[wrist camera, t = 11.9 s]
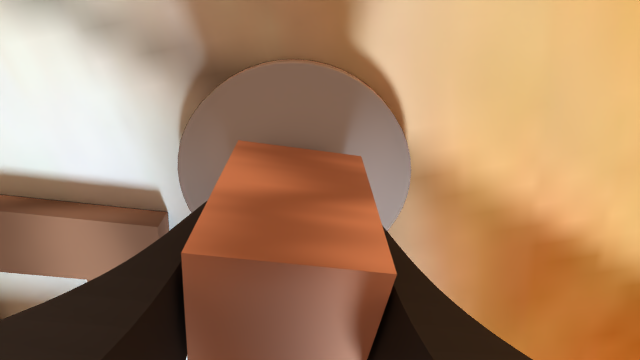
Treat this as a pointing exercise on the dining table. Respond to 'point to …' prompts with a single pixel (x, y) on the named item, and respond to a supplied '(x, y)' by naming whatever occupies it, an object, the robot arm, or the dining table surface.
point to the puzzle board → (72, 236)
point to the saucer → (296, 127)
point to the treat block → (286, 259)
